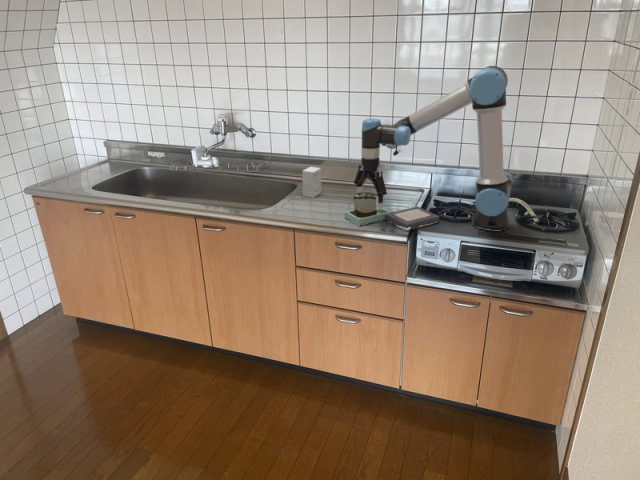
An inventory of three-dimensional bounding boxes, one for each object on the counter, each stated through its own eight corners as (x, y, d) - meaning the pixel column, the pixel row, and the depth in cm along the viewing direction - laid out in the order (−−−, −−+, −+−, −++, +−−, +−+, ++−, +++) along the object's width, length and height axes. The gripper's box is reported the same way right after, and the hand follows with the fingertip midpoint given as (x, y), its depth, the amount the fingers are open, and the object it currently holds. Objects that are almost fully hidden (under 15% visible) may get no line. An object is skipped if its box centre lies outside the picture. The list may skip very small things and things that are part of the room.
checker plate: (430, 217, 211) (431, 215, 211) (407, 223, 205) (407, 221, 205) (416, 210, 218) (417, 208, 218) (393, 216, 212) (393, 214, 212)
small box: (310, 191, 250) (310, 166, 244) (321, 193, 247) (321, 168, 242) (302, 196, 243) (302, 170, 238) (313, 198, 240) (313, 172, 235)
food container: (378, 213, 220) (380, 191, 216) (379, 218, 215) (381, 196, 211) (350, 212, 221) (352, 191, 217) (351, 217, 215) (352, 195, 211)
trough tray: (390, 218, 216) (391, 212, 215) (359, 226, 208) (359, 219, 207) (375, 210, 224) (376, 204, 223) (344, 218, 216) (344, 211, 215)
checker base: (438, 222, 211) (439, 215, 210) (406, 231, 203) (407, 223, 201) (416, 212, 222) (417, 205, 221) (385, 220, 214) (385, 212, 212)
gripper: (396, 162, 197) (394, 211, 205) (360, 149, 216) (359, 195, 225) (381, 164, 193) (380, 215, 202) (346, 152, 213) (346, 198, 222)
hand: (369, 205), depth 213 cm, fingers open, 13 cm apart
